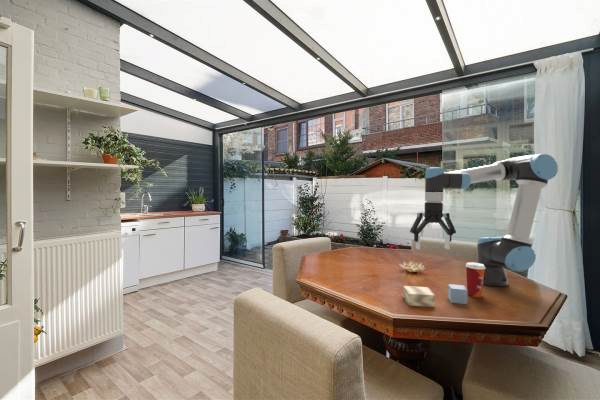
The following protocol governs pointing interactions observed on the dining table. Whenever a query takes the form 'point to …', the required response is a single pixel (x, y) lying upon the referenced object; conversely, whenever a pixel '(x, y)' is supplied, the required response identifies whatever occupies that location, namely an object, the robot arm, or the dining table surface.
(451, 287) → the slate cube
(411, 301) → the maple block
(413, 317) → the dining table surface
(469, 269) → the paper cup
